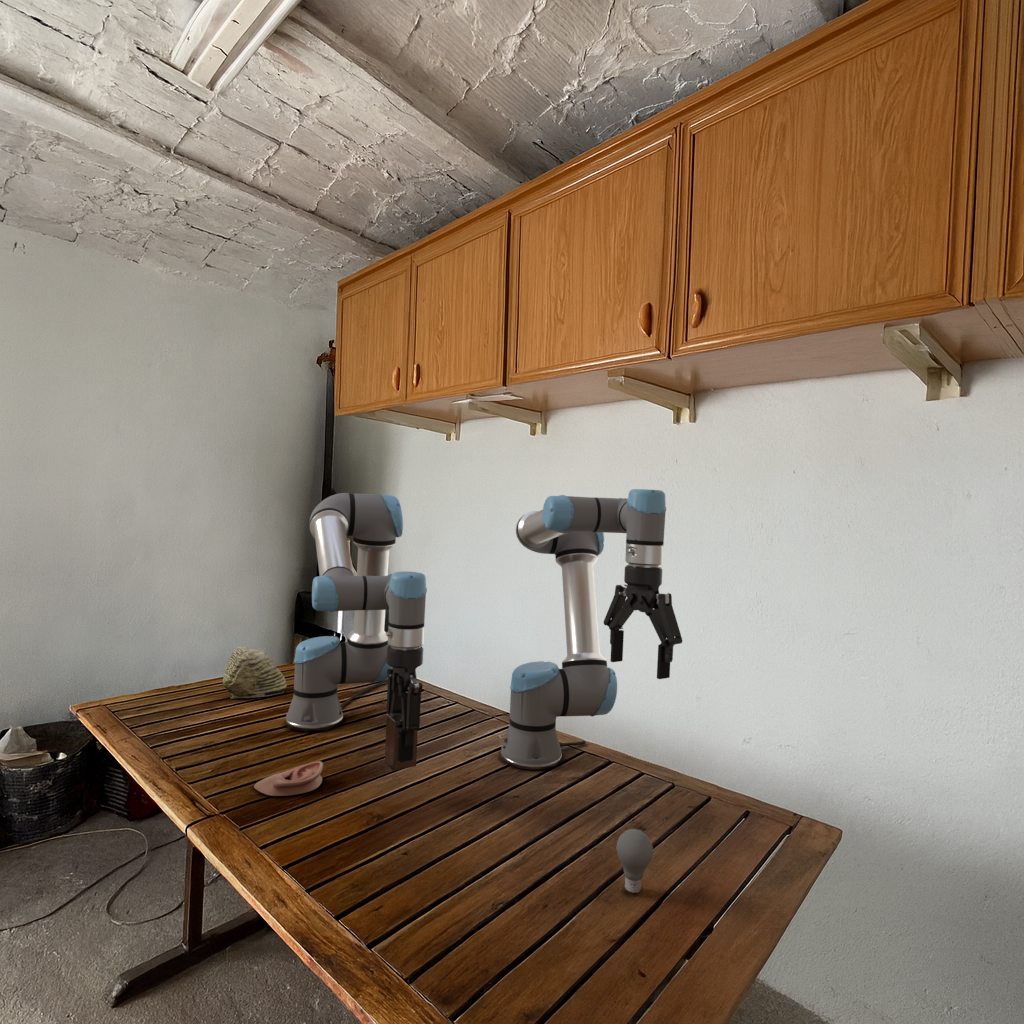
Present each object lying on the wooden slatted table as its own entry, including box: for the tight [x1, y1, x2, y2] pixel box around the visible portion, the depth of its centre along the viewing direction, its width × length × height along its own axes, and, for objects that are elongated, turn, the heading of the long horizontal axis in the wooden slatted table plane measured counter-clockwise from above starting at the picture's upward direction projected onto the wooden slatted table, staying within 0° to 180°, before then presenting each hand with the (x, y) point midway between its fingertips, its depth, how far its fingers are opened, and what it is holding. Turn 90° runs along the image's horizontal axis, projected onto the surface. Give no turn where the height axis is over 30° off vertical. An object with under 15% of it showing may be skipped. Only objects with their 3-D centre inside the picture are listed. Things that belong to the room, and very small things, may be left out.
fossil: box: [222, 646, 288, 699], centre depth 198 cm, size 9×18×15 cm, turn 132°
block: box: [384, 712, 418, 772], centre depth 134 cm, size 5×5×10 cm
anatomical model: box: [253, 760, 324, 797], centre depth 138 cm, size 13×4×12 cm
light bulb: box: [615, 828, 654, 894], centre depth 106 cm, size 6×6×10 cm
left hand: (400, 755), depth 134 cm, fingers closed on block, 5 cm apart
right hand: (638, 669), depth 129 cm, fingers open, 13 cm apart
